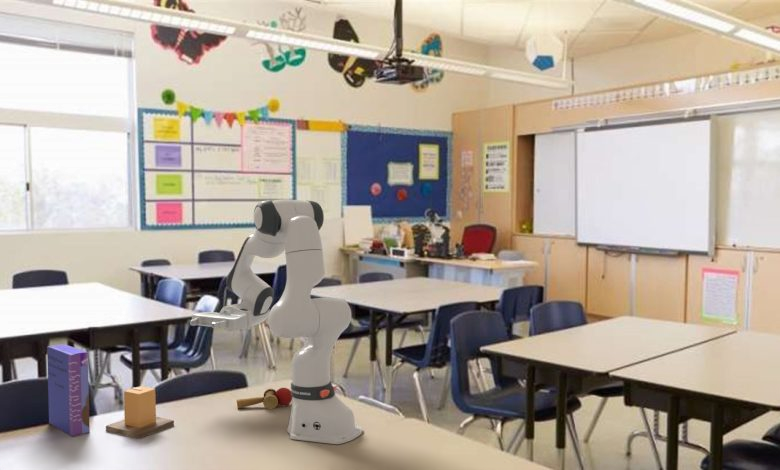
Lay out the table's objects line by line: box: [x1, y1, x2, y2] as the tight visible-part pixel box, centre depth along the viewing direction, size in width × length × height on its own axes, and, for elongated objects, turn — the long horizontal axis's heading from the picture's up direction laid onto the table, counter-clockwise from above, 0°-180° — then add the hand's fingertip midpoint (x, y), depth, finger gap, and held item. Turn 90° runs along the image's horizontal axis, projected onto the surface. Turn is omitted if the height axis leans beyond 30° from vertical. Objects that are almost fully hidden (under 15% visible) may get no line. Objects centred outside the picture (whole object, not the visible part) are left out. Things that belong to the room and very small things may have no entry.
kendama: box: [236, 387, 292, 410], centre depth 216 cm, size 8×6×18 cm
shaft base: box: [105, 416, 175, 440], centre depth 195 cm, size 14×13×8 cm
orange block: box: [123, 385, 157, 428], centre depth 195 cm, size 6×6×10 cm
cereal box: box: [46, 343, 91, 437], centre depth 195 cm, size 17×5×24 cm, turn 48°
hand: (202, 324), depth 212 cm, fingers open, 8 cm apart
